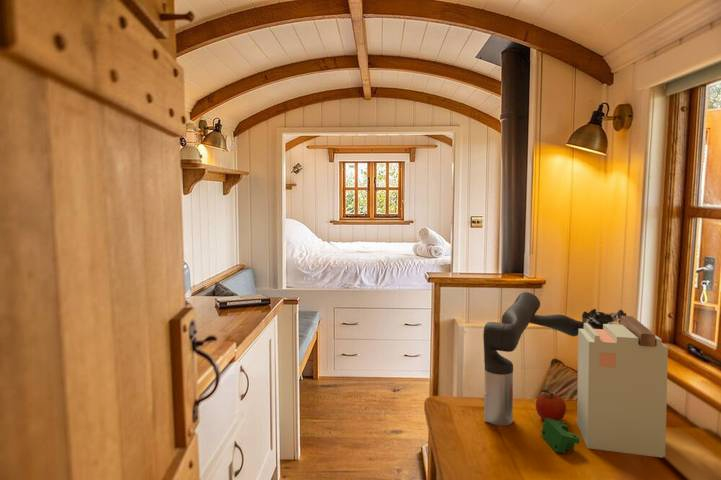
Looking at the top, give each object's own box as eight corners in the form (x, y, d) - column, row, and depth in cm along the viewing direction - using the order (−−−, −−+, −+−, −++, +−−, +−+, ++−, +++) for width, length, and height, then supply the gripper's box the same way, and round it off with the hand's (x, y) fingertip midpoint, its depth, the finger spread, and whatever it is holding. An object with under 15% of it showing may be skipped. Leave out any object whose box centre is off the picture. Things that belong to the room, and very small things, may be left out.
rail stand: (587, 448, 129) (589, 335, 128) (577, 423, 145) (578, 322, 143) (665, 458, 123) (668, 340, 122) (645, 431, 139) (648, 326, 137)
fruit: (566, 428, 142) (567, 398, 141) (535, 423, 145) (535, 393, 145) (565, 415, 150) (566, 387, 150) (535, 411, 154) (536, 383, 154)
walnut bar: (640, 345, 123) (640, 333, 123) (620, 325, 146) (620, 315, 146) (654, 346, 122) (655, 334, 122) (632, 326, 145) (632, 316, 145)
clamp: (570, 465, 128) (584, 445, 124) (551, 461, 128) (564, 440, 124) (557, 432, 139) (569, 412, 135) (539, 428, 139) (550, 407, 135)
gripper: (577, 314, 175) (585, 301, 161) (617, 315, 171) (629, 302, 157) (579, 332, 171) (587, 321, 158) (619, 334, 168) (632, 323, 154)
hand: (608, 311), depth 157 cm, fingers open, 8 cm apart
